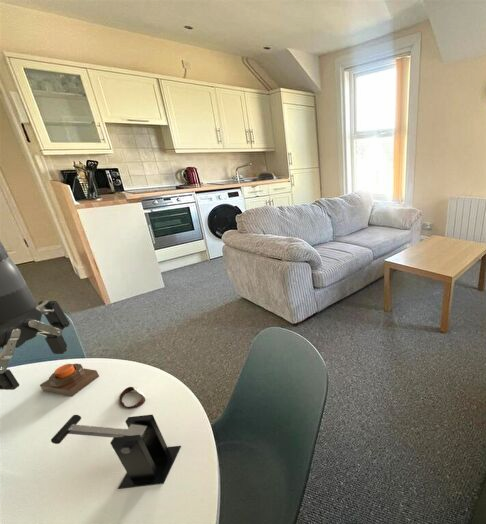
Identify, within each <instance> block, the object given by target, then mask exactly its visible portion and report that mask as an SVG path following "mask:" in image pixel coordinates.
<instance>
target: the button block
mask: <svg viewBox="0 0 486 524" xmlns="http://www.w3.org/2000/svg"><path fill="white" fill-rule="evenodd" d="M71 364H72V365H73V367H74V368H75V371H74V372H73V373H72V374H70V375H68V376H66V377H64V378H60V379H58V378H57V377H56V375H55V373H54V372H53V373H52V374H51V375H50V376H49V377H48V379H47V380H45V381H44V382H42V383H41V384H39V387H40V389H41V390H42V392H45V393H50V394H56V395H61V396H67V397H74V396H75V395H77V394H78V393H80V392H81V391H82V390H83V389H84V388H86V387H87V386H88V385H90V384H91V383H92V382H94V381H95V380H97V379H98V378H100V374H99V372H98V370H96V369H90V368H84V367H83V365H82V364H81V363H71Z"/></svg>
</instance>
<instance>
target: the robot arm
mask: <svg viewBox="0 0 486 524" xmlns="http://www.w3.org/2000/svg"><path fill="white" fill-rule="evenodd" d="M42 316H44V317H45V319H46V320H47V322H48V324H47V323H44V322H42ZM70 324H71V323H70V321H69V319H68V317H67V315H66V314H65V312H64V311H63V309H62V308H61V306H60V304H59V302H58V301H57V300H39V302H38V303H37V301H36V299H35V297H34V295H33V293H32V291H31V290H30V288H29V286H28V284H27V282H26V281H25V279H24V277H23V275H22V273H21V271H20V269H19V268H18V267H17V265H16V264H15V262H14V261H13V260H12V258H11V257H10V256H9V254H8V252H7V250H6V248H5V247H4V245H3V242H2V241H1V240H0V350H1V349H2V351H1V352H0V390H7V391H14V390H16V389H17V388H19V387H20V383H19V381H18V380H17V378H16V377H15V376H14V374H13V373H12V370H11V369H10V368H8V367H9V361H10V359H11V358H12V357H13V356H14V353H15V350H16V349H18V348H20V347H21V346H23V345H24V344H25V343H26V342H27V341H30V340H33V339H34V338H36V337H37V335H39V336H40V335H41V336H43V337H44V340H45V342H46V343H47V345H48V347H49V349H50V350H51V352H52V354H53V355H63V354H65V353H67V351H68V349H67V348H68V344H67V342H66V341H65V339H64V337H63V336H64V335H62V334H63V330H64V329H65V328H68V327H70Z"/></svg>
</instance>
